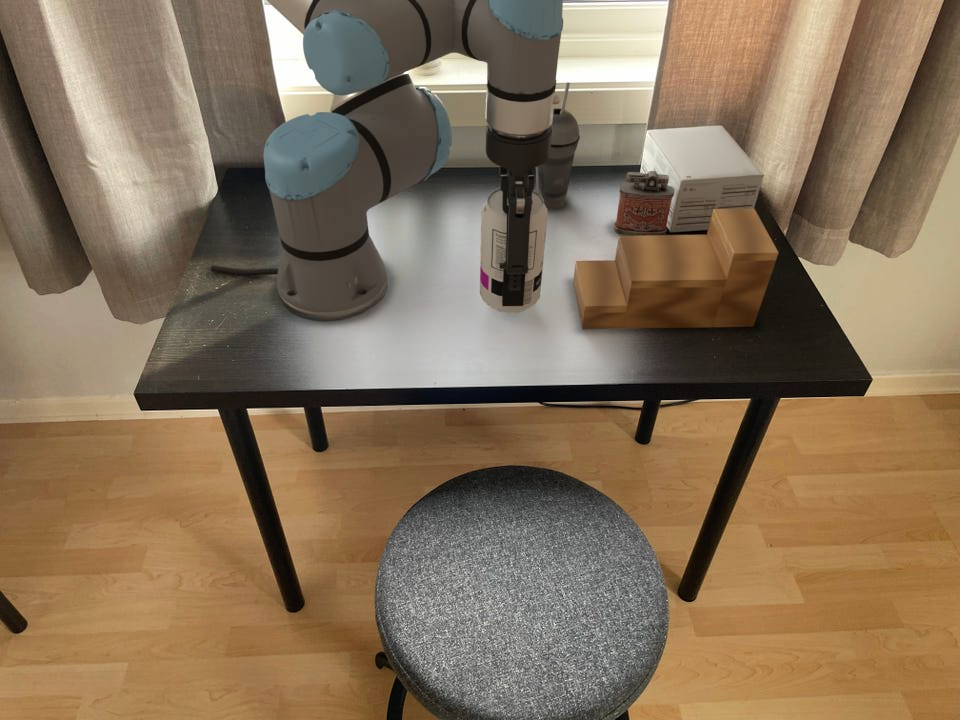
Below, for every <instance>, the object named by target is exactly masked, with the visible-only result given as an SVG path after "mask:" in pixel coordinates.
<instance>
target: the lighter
mask: <svg viewBox="0 0 960 720" xmlns="http://www.w3.org/2000/svg"><path fill="white" fill-rule="evenodd" d="M668 181H669V176H668V175H662V174H656V172H655V171H649V172H648V173H647V174H643V173H640V171H629V172H627V173H626V179H625V182H624V183H622V184H620V186H619V199H618V207H617V213H616V219H615V222H614V225H613V231H614V233H615V234H617V235H619V236H648V235H667V232H668V231H667V230H668V227H667V226H666V225H667V220H668V215H669V211H670V206H671V201H672V197H673V196H674V192H675V189H674V188H673V187H671V186H669V185H667V184H668Z"/></svg>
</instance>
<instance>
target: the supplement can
mask: <svg viewBox="0 0 960 720" xmlns="http://www.w3.org/2000/svg"><path fill="white" fill-rule="evenodd" d="M486 197H487V198H486V200H485V202H484V203H483V204H482V206H481V216H480V217H481V218H480V219H481V221H480V260H479V261H480V262H479V263H480V265H479V266H480V269H479V295H480V298H481V300H482V301H483V302H484V303H485V304H486V305H487V306H489V307H490V308H492V309H494V310H495V311H498V312H502V313H506V314H513V313H516V314H517V313H521V312H523V311H527V310H528V309H531V308H532V307H533V306H535V305H536V304H537V302H538V301H539V300H540V298H541V291H542V280H543V269H544V259H545V249H546V238H547V237H546V236H547V226H548V215H549V210H548V208H546V206H545V204H544V200H543V198H542V196H541V195H540V194H539V193H537V190H535V189H533V191H532V200H533V203H532V209H531V214H530V231H529V251H528V273H527V274H525V287H524V301H523V306H502V293H503V271H504V269H500V263H504V262H505V261H506V232H507V214H506V213H504V211H503V209H502V191H501V188H500V187H498V188H496V189H494V190H493V191H490V193H489V194H488V196H486ZM526 197H527V196H526ZM507 205H509V204H508V199H507Z"/></svg>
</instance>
